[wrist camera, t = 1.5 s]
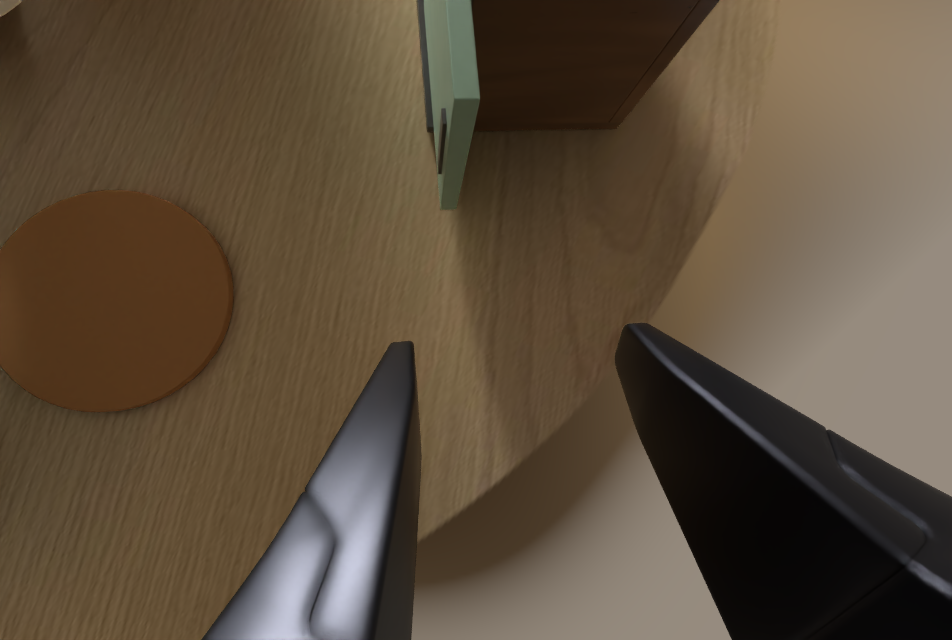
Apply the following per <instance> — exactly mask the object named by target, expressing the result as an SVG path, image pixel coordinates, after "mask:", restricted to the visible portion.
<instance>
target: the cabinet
mask: <svg viewBox="0 0 952 640" xmlns="http://www.w3.org/2000/svg"><path fill="white" fill-rule="evenodd" d="M718 2H719V0H471V5H472V15H473V26H474V37H475V48H476V58H477V69H478V80H479V90H480V102H479V107H478V111H477V116H476V121H475V125H474V130H473V131H510V130H572V129H617V128H618V127H619V125H620V124H621V123H622V122H623V121H624V120H625V118H626V117H627V116H628V115H629V113H630V112H631V111H632V110H633V108H634V107H635V106H636V104H637V103H638V102H639V101H640V99H641V98H642V97H643V96H644V94H645V93H646V92H647V91H648V89H649V88H650V87H651V86H652V84H653V83H654V82H655V81H656V79H657V78H658V77H659V76H660V74H661V73H662V72H663V71H664V69H665V68H666V67H667V66H668V64H669V63H670V62H671V61H672V59H673V58H674V57H675V56H676V54H677V53H678V52H679V51H680V49H681V48H682V47H683V46H684V44H685V43H686V42H687V40H688V39H689V38H690V37H691V35H692V34H693V33H694V32H695V30H696V29H697V28H698V27H699V25H700V24H701V23H702V22H703V20H704V19H705V18H706V17H707V15H708V14H709V13H710V12H711V10H712V9H713V8H714V7H715V5H716V4H717V3H718ZM417 11H418V23H419V36H420V49H421V61H422V74H423V87H424V100H425V112H426V125H427V132H434V126H433V113H432V101H431V89H430V76H429V64H428V51H427V39H426V26H425V14H424V0H417Z"/></svg>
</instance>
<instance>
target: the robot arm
mask: <svg viewBox="0 0 952 640" xmlns="http://www.w3.org/2000/svg"><path fill="white" fill-rule="evenodd" d="M615 366H616V369H617V372H618V375H619V378H620V381H621V385H622V388H623V390H624V393H625V397H626V400H627V403H628V406H629V409H630V412H631V415H632V418H633V421H634V424H635V427H636V429H637V432H638V435H639V437H640V439H641V442H642V444H643V446H644V449H645V451H646V453H647V455H648V457H649V459H650V461H651V464H652V466H653V468H654V470H655V472H656V475H657V477H658V479H659V481H660V484H661V486H662V488H663V490H664V492H665V494H666V497H667V499H668V501H669V503H670V505H671V508H672V510H673V512H674V514H675V516H676V519H677V521H678V523H679V525H680V527H681V529H682V532H683V534H684V536H685V538H686V540H687V543H688V545H689V547H690V549H691V551H692V553H693V556H694V558H695V560H696V562H697V564H698V567H699V569H700V571H701V573H702V575H703V578H704V580H705V582H706V584H707V586H708V589H709V591H710V593H711V595H712V597H713V600H714V602H715V604H716V606H717V608H718V610H719V613H720V615H721V617H722V619H723V621H724V623H725V625H726V628H727V630H728V632H729V635H730V637H731V639H732V640H952V497H951V496H949V495H947V494H945V493H944V492H942V491H940V490H938V489H936V488H934V487H932V486H930V485H928V484H926V483H924V482H922V481H920V480H919V479H917V478H915V477H913V476H911V475H909V474H907V473H905V472H904V471H902V470H900V469H898V468H896V467H894V466H892V465H890V464H889V463H887V462H885V461H883V460H882V459H880V458H878V457H876V456H874V455H873V454H871V453H869V452H867V451H866V450H864V449H862V448H860V447H859V446H857V445H855V444H853V443H851V442H850V441H848V440H846V439H845V438H843V437H841V436H840V435H838V434H836V433H835V432H833V431H831V430H826V429H825V427H824V426H822V425H820V424H819V423H817V422H816V421H814V420H812V419H810V418H809V417H807V416H805V415H804V414H801V413H800V412H798V411H797V410H795V409H793V408H792V407H790V406H788V405H786V404H785V403H783V402H781V401H780V400H778V399H776V398H774V397H773V396H771V395H769V394H768V393H766V392H764V391H762V390H761V389H759V388H757V387H756V386H754V385H752V384H751V383H749V382H747V381H745V380H744V379H742V378H740V377H738V376H737V375H735V374H733V373H732V372H730V371H728V370H726V369H725V368H723V367H721V366H720V365H718V364H716V363H715V362H713V361H711V360H709V359H708V358H706V357H704V356H703V355H701V354H699V353H697V352H696V351H694V350H692V349H690V348H689V347H687V346H685V345H684V344H682V343H680V342H678V341H677V340H675V339H673V338H672V337H670V336H668V335H666V334H665V333H663V332H661V331H660V330H658V329H656V328H655V327H653V326H651V325H650V324H648V323H630V324H627V325H625V326H624V327H623V329H622V332H621V335H620V339H619V342H618V346H617V349H616V353H615ZM421 460H422V453H421V435H420V420H419V406H418V391H417V377H416V365H415V352H414V343H413V342H412V341H401V342H393V343H391V344H390V345H389V347H388V348H387V350H386V352H385V353H384V355H383V357H382V358H381V360H380V362H379V363H378V365H377V367H376V369H375V370H374V372H373V374H372V375H371V377H370V379H369V380H368V382H367V384H366V385H365V387H364V389H363V391H362V392H361V394H360V396H359V397H358V399H357V401H356V402H355V404H354V406H353V407H352V409H351V411H350V412H349V414H348V416H347V418H346V419H345V421H344V423H343V424H342V426H341V428H340V429H339V431H338V433H337V434H336V436H335V438H334V440H333V441H332V443H331V445H330V446H329V448H328V450H327V451H326V453H325V455H324V456H323V458H322V460H321V462H320V463H319V465H318V467H317V468H316V470H315V472H314V473H313V475H312V477H311V478H310V480H309V482H308V483H307V485H306V487H305V492H302V493H301V495H300V497H299V498H298V500H297V502H296V503H295V505H294V507H293V508H292V510H291V512H290V514H289V515H288V517H287V518H286V520H285V522H284V523H283V525H282V526H281V528H280V529H279V531H278V533H277V534H276V536H275V537H274V539H273V541H272V542H271V544H270V545H269V547H268V548H267V550H266V551H265V553H264V554H263V555H262V557H261V558H260V560H259V561H258V563H257V564H256V565H255V567H254V568H253V570H252V571H251V572H250V574H249V575H248V577H247V578H246V579H245V581H244V582H243V584H242V585H241V587H240V588H239V589H238V591H237V592H236V593H235V595H234V596H233V597H232V599H231V600H230V601H229V603H228V604H227V605H226V607H225V608H224V610H223V611H222V612H221V614H220V615H219V616H218V618H217V619H216V620H215V622H214V623H213V624H212V626H211V627H210V628H209V630H208V631H207V633H206V634H205V635H204V637H203V638H202V639H201V640H411V633H412V616H413V599H414V582H415V566H416V548H417V532H418V515H419V498H420V481H421Z"/></svg>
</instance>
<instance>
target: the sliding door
mask: <svg viewBox="0 0 952 640" xmlns="http://www.w3.org/2000/svg"><path fill="white" fill-rule="evenodd" d="M424 14H425V26H426V39H427V51H428V64H429V76H430V89H431V101H432V113H433V126H434V138H435V151H436V163H437V176H438V188H439V200H440V209H441V210H453V209H456V208H457V203H458V199H459V194H460V190H461V185H462V180H463V176H464V171H465V167H466V162H467V157H468V153H469V148H470V144H471V139H472V134H473V130H474V125H475V121H476V116H477V111H478V107H479V102H480V90H479V80H478V69H477V58H476V48H475V37H474V26H473V15H472V5H471V0H424Z"/></svg>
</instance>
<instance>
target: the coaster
mask: <svg viewBox="0 0 952 640" xmlns="http://www.w3.org/2000/svg"><path fill="white" fill-rule="evenodd" d="M232 308H233V282H232V275H231V271H230V268H229V265H228V261H227V259H226V257H225V255H224V253H223V250H222V248H221V247H220V245H219V244H218V242H217V241H216V239H215V238H214V236H213V235H212V234H211V233H210V232H209V231H208V229H207V228H206V227H205V226H204V225H203V224H201V223H200V222H199V221H198V220H197V219H196V218H195V217H193V216H192V215H190V214H189V213H187V212H186V211H184V210H183V209H181V208H180V207H178V206H176V205H174V204H172V203H170V202H168V201H166V200H164V199H161V198H158V197H156V196H153V195H149V194H145V193H140V192H136V191H125V190H102V191H95V192H88V193H84V194H80V195H76V196H72V197H69V198H67V199H64V200H61V201H59V202H56V203H54V204H52V205H51V206H49V207H47V208H45V209H43V210H41V211H40V212H38V213H37V214H35V215H34V216H32V217H31V218H29V219H28V220H27V221H26V222H25V223H24V224H22V225H21V226H20V227H19V228H18V229H17V230H16V231H15V232H14V233H13V234H12V235H11V237H10V238H9V239H8V240H7V241H6V243H5V244H4V245H3V247H2V248H1V250H0V366H1V367H2V368H3V370H4V371H5V372H6V373H7V374H8V375H9V376H10V378H11V379H12V380H14V381H15V382H16V383H17V384H18V385H19V386H21V387H22V388H23V389H24V390H26V391H28V392H29V393H31V394H32V395H34V396H35V397H37V398H39V399H42V400H44V401H46V402H48V403H50V404H53V405H56V406H60V407H63V408H66V409H71V410H77V411H83V412H109V411H120V410H126V409H131V408H136V407H141V406H144V405H147V404H150V403H153V402H155V401H158V400H160V399H162V398H164V397H166V396H168V395H170V394H172V393H174V392H175V391H177V390H178V389H180V388H182V387H183V386H184V385H186V384H187V383H188V382H189V381H191V380H192V379H193V378H195V377H196V376H197V375H198V374H199V373H200V372H201V371H202V370H203V368H204V367H205V366H206V365H207V364H208V363H209V361H210V360H211V359H212V357H213V356H214V355H215V353H216V352H217V350H218V348H219V346H220V345H221V343H222V341H223V339H224V337H225V334H226V332H227V329H228V326H229V323H230V319H231V315H232Z"/></svg>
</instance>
